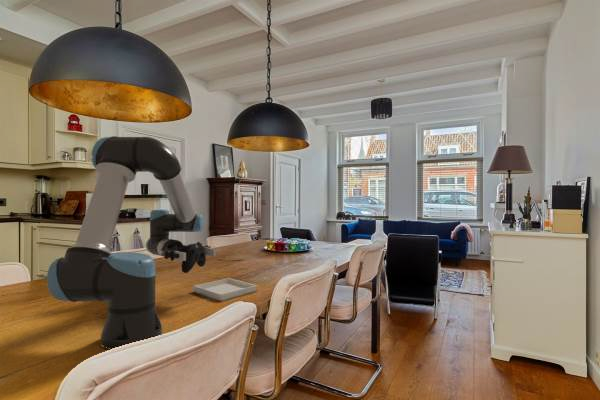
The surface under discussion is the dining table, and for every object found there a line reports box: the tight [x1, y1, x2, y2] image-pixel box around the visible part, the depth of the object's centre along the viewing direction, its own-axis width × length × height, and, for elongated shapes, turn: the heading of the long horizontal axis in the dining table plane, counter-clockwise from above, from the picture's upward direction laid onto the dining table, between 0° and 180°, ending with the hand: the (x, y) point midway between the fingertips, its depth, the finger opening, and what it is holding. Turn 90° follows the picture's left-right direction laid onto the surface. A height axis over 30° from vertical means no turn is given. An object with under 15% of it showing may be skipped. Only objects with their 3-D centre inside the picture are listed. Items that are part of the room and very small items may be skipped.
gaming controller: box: [181, 241, 207, 274], centre depth 124 cm, size 14×6×10 cm, turn 169°
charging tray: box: [192, 277, 258, 302], centre depth 139 cm, size 18×19×2 cm
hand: (200, 254), depth 122 cm, fingers closed on gaming controller, 12 cm apart
